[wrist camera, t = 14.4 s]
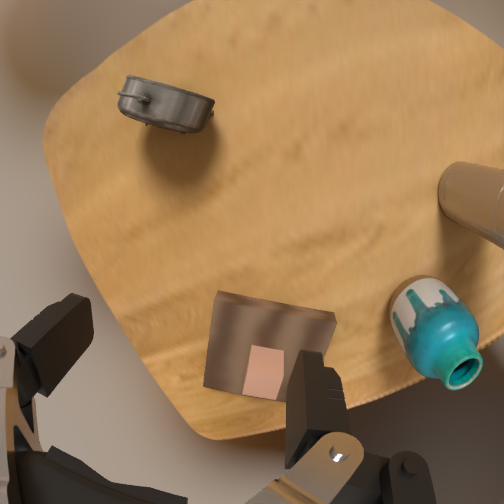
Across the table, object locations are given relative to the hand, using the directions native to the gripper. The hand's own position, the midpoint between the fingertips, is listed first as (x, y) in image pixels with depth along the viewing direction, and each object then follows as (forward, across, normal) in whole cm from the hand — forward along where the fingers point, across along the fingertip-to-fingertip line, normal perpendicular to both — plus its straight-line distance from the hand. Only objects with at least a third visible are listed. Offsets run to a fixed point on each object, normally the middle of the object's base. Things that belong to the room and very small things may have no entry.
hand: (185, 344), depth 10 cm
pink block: (+29, -6, +24) cm, 38 cm away
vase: (+32, -27, +10) cm, 43 cm away
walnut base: (+32, -6, +24) cm, 41 cm away
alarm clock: (+32, +12, -10) cm, 36 cm away
